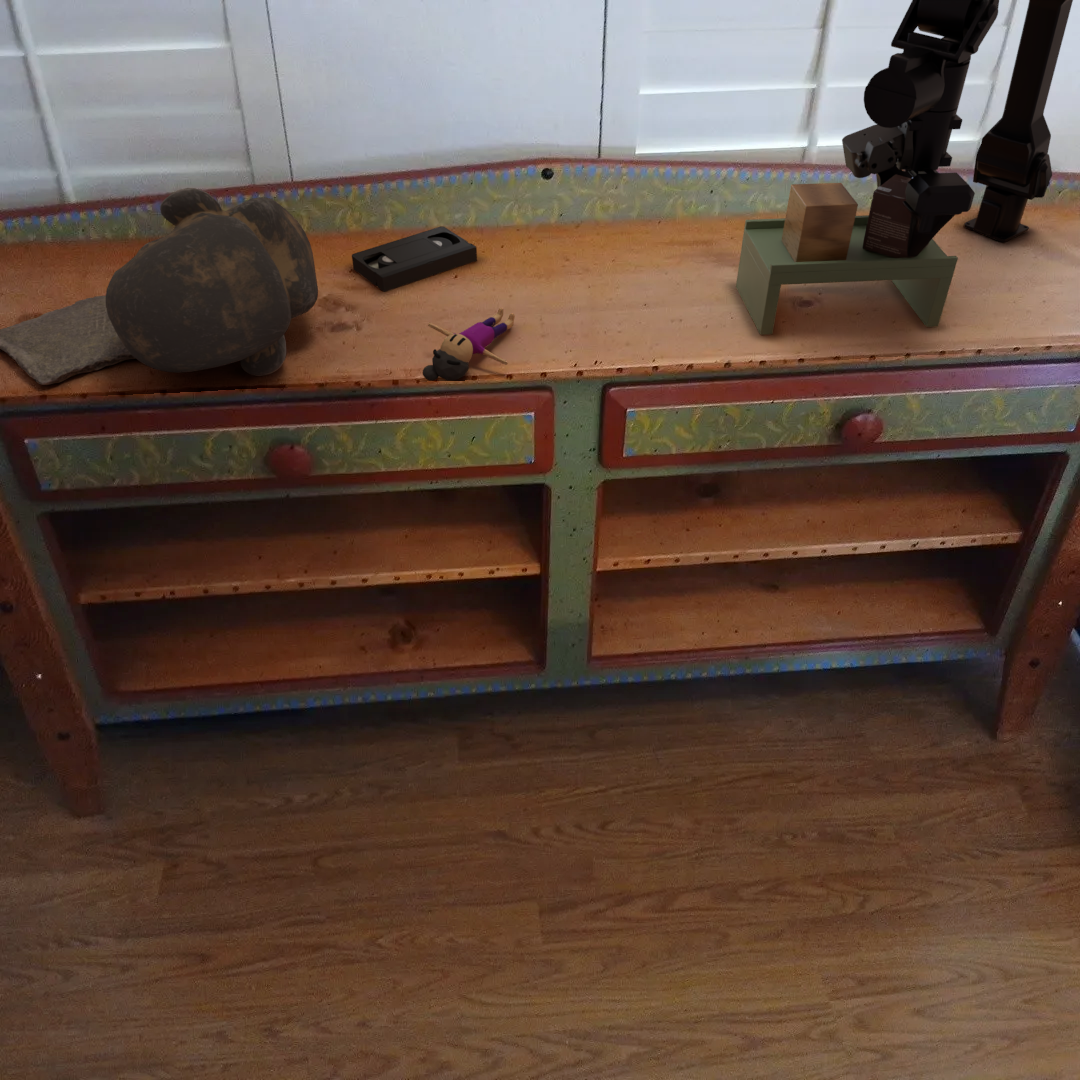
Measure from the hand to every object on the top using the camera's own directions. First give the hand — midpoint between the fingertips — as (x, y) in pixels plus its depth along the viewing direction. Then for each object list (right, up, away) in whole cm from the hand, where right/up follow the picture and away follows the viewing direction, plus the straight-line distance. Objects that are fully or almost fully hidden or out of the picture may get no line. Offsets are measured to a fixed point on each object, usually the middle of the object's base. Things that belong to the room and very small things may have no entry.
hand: (897, 238), depth 126 cm
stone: (-90, -9, 0) cm, 90 cm away
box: (0, -1, +1) cm, 1 cm away
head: (-67, -1, -5) cm, 67 cm away
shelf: (-6, -7, +6) cm, 11 cm away
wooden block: (-10, -2, 0) cm, 10 cm away
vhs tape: (-58, 0, +14) cm, 60 cm away
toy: (-46, -10, +2) cm, 47 cm away
